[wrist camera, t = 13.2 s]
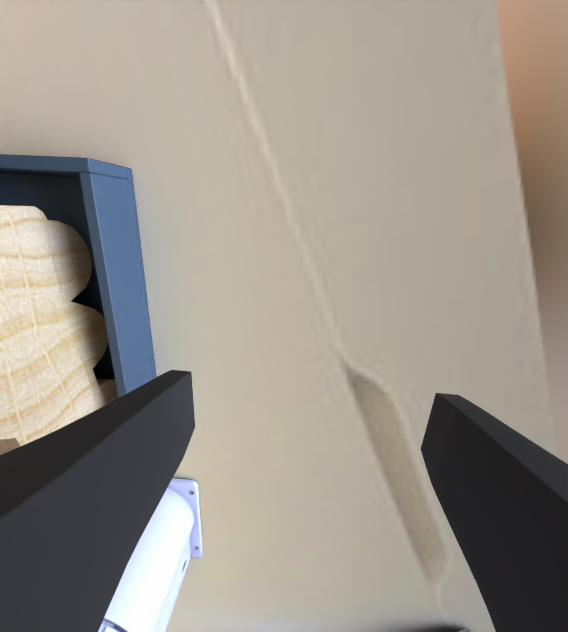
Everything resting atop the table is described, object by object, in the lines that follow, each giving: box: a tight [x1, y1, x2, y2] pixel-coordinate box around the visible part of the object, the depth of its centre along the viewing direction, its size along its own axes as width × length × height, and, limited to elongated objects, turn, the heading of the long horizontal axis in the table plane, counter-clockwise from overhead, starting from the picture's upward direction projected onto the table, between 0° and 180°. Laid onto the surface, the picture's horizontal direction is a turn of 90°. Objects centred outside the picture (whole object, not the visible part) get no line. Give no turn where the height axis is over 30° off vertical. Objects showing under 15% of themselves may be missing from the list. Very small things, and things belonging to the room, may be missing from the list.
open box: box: [0, 154, 156, 398], centre depth 18 cm, size 20×11×4 cm, turn 177°
